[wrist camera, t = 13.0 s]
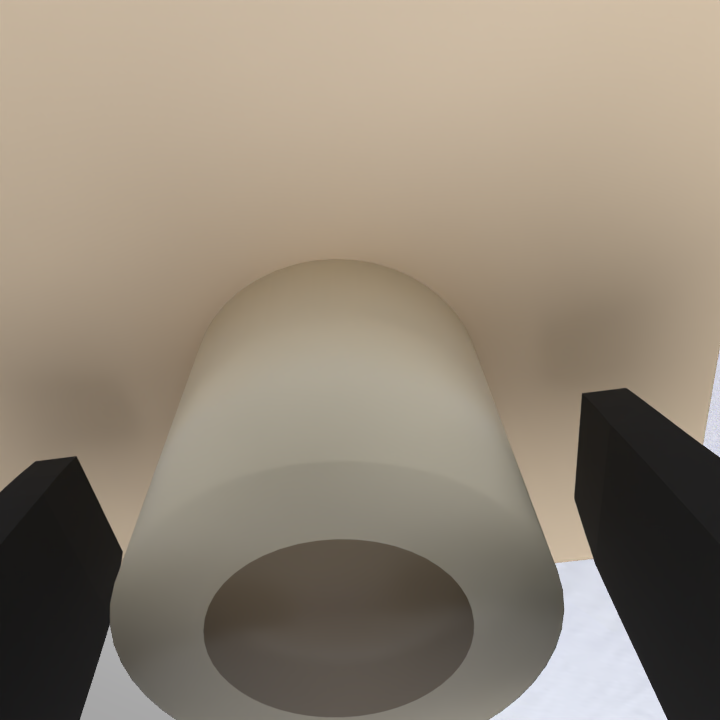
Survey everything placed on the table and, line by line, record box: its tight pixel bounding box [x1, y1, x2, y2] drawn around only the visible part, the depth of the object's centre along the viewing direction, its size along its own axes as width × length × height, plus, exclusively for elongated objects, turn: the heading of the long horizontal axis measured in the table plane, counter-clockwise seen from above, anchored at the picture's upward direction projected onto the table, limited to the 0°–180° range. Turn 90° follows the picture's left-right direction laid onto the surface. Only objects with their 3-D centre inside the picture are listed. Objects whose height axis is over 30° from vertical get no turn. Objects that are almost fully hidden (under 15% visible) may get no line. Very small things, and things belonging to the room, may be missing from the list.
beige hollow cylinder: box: [110, 259, 564, 720], centre depth 10 cm, size 5×5×5 cm
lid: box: [0, 0, 720, 564], centre depth 11 cm, size 13×13×1 cm
